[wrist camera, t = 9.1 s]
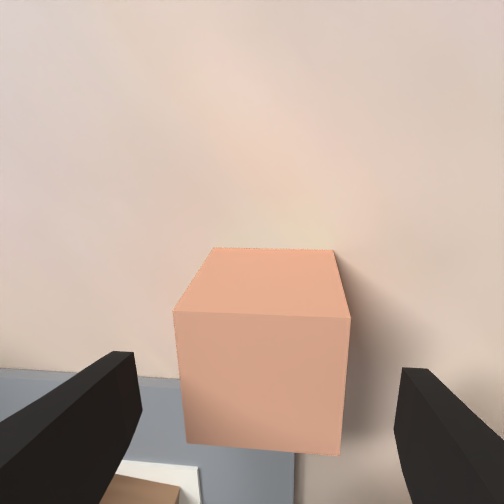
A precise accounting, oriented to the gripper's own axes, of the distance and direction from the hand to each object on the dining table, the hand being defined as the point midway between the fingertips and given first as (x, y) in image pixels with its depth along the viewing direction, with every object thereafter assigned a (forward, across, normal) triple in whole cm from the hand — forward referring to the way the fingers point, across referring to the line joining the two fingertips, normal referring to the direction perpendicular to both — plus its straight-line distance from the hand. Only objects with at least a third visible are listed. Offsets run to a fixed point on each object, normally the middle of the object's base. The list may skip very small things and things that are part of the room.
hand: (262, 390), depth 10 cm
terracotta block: (+5, 0, 0) cm, 5 cm away
